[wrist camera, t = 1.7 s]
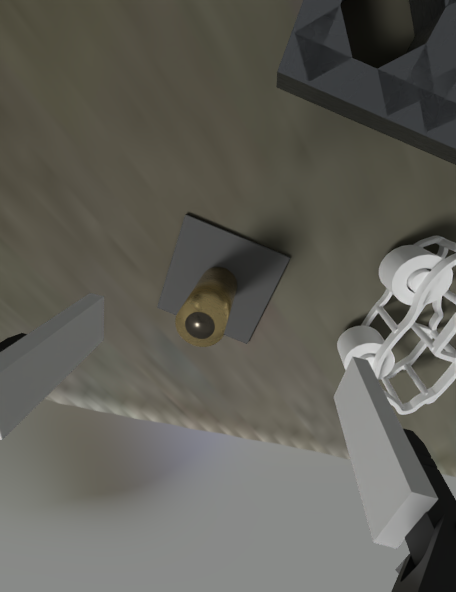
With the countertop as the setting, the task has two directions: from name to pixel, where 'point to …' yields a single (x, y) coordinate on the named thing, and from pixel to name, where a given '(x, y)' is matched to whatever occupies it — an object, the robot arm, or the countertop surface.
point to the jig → (380, 75)
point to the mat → (228, 254)
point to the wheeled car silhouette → (408, 319)
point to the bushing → (207, 308)
